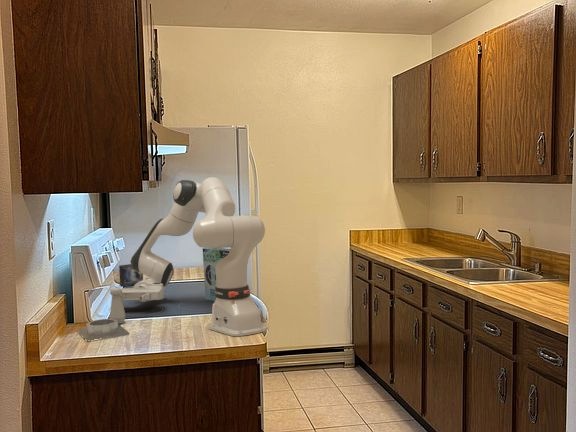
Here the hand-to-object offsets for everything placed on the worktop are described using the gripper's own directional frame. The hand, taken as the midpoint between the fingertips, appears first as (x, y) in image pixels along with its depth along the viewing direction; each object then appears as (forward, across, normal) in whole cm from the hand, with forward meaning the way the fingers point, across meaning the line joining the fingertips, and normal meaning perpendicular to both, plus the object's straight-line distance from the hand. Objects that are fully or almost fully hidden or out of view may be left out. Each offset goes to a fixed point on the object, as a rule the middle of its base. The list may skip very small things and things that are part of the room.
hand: (129, 298), depth 218 cm
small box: (-64, -28, +7) cm, 70 cm away
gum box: (-25, +30, +7) cm, 40 cm away
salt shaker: (+11, 0, +7) cm, 13 cm away
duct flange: (+24, 0, +7) cm, 25 cm away
